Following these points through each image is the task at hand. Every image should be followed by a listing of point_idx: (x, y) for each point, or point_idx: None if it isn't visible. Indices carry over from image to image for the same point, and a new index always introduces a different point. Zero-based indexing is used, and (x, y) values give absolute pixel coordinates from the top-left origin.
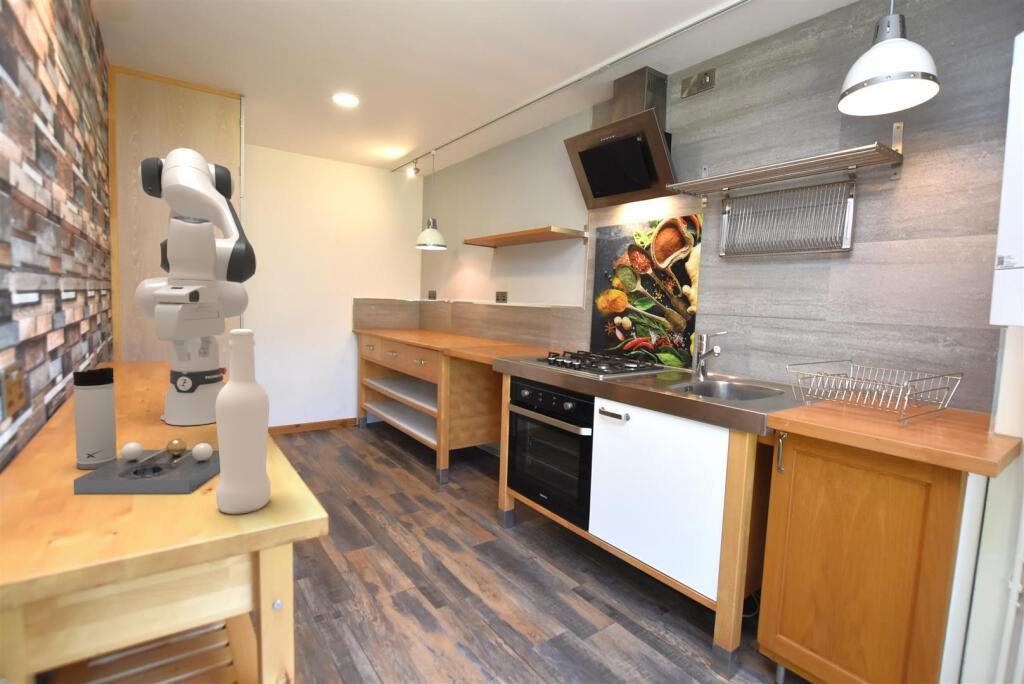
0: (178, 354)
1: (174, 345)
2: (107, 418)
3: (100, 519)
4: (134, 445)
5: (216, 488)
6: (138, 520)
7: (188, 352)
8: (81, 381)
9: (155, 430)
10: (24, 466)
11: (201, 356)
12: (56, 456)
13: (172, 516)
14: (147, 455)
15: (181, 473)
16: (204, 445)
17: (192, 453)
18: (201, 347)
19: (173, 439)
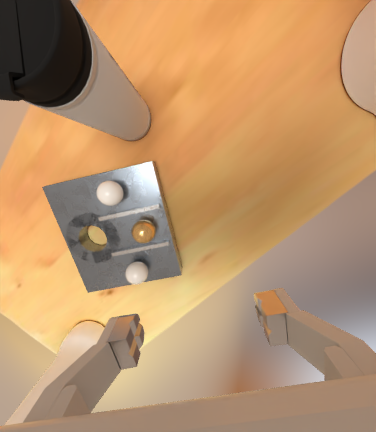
0: (100, 341)
1: (49, 390)
2: (98, 128)
3: (28, 257)
4: (103, 201)
5: (67, 337)
6: (40, 284)
7: (132, 362)
8: None
9: (308, 36)
10: (92, 15)
11: (255, 300)
12: (140, 12)
13: (55, 301)
14: (135, 193)
15: (99, 274)
16: (132, 283)
17: (127, 267)
18: (291, 320)
19: (137, 234)
